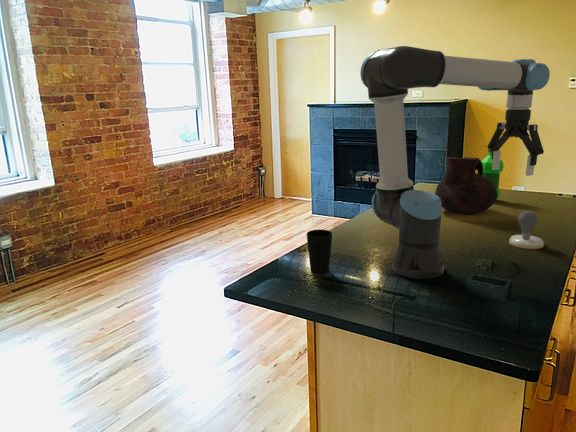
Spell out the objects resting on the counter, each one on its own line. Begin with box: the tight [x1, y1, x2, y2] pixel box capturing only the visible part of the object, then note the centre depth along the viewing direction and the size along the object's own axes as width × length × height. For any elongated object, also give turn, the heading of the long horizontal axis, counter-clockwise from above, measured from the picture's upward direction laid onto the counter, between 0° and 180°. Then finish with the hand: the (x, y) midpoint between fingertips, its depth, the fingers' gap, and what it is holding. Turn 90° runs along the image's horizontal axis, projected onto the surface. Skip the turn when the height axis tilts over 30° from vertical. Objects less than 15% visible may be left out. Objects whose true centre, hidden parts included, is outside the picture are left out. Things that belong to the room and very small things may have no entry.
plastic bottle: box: [481, 147, 505, 199], centre depth 223 cm, size 10×10×25 cm
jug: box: [434, 156, 498, 216], centre depth 203 cm, size 25×25×25 cm
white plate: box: [508, 234, 545, 250], centre depth 164 cm, size 11×11×2 cm
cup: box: [306, 229, 333, 275], centre depth 143 cm, size 8×8×12 cm
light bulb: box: [517, 210, 539, 240], centre depth 162 cm, size 6×6×10 cm
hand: (511, 172), depth 162 cm, fingers open, 13 cm apart
